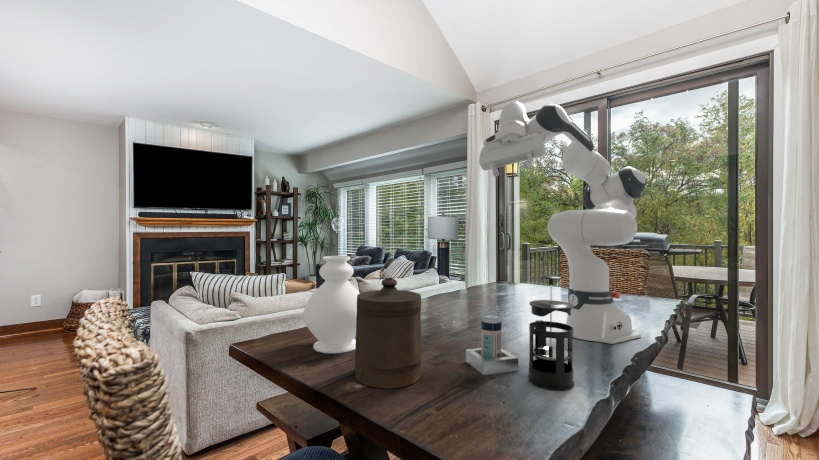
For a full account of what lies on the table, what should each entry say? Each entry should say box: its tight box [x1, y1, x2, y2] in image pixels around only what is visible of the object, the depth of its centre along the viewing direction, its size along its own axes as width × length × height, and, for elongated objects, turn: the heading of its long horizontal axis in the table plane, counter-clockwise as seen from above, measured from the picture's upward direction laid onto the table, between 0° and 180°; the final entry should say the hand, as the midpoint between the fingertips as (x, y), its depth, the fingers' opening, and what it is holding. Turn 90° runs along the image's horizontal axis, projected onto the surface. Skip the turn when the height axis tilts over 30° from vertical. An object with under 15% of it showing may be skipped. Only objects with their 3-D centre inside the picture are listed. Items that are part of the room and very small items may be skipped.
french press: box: [527, 274, 575, 392], centre depth 81 cm, size 12×9×23 cm
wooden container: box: [354, 277, 422, 389], centre depth 84 cm, size 15×15×22 cm
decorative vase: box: [303, 255, 361, 354], centre depth 104 cm, size 18×18×25 cm
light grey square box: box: [465, 347, 519, 376], centre depth 89 cm, size 9×9×3 cm
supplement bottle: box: [480, 313, 503, 359], centre depth 89 cm, size 5×5×12 cm
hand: (510, 171), depth 112 cm, fingers open, 8 cm apart
